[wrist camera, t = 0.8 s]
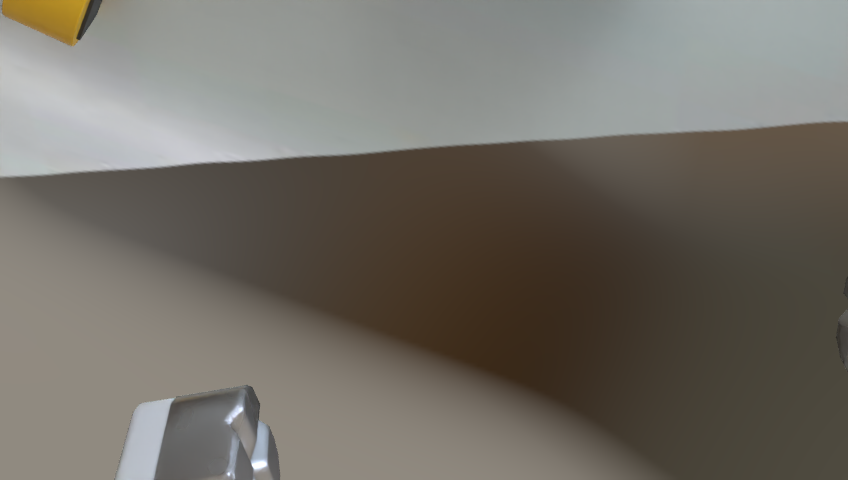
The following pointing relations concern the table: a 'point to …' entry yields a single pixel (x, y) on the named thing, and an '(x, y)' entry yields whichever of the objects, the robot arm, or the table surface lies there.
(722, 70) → the table surface
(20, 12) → the tape measure
